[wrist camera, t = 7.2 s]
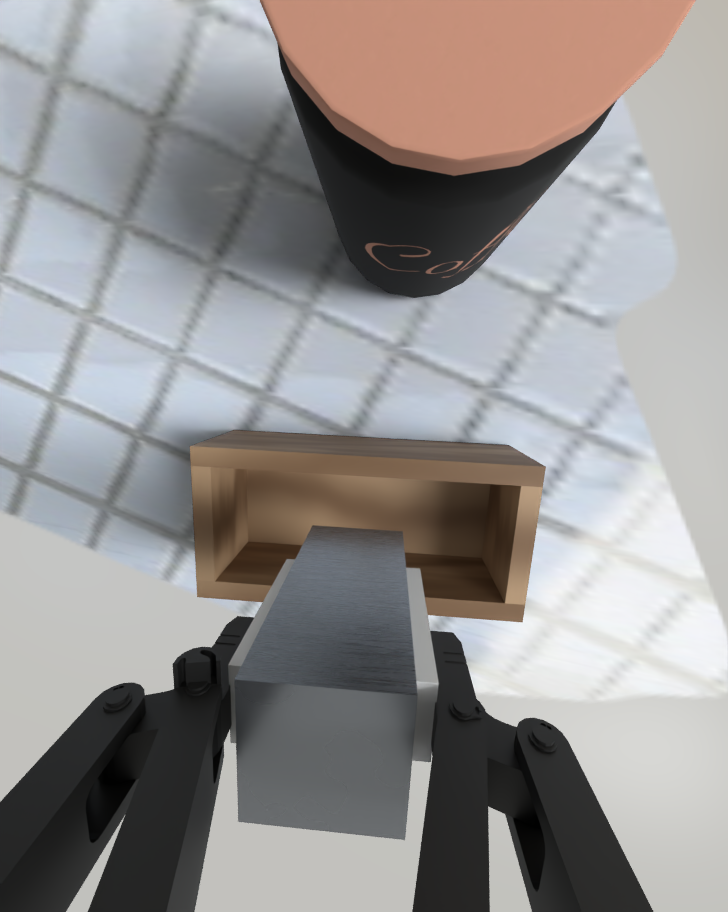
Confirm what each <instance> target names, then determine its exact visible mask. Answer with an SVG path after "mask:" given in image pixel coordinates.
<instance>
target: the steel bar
mask: <svg viewBox="0 0 728 912" xmlns="http://www.w3.org/2000/svg"><path fill="white" fill-rule="evenodd" d="M417 699H418V693H417V682H416V671H415V660H414V649H413V638H412V627H411V616H410V605H409V594H408V583H407V572H406V561H405V550H404V539H403V531H390V530H375V529H361V528H346V527H331V526H317V525H312V527H311V529H310V531H309V533H308V535H307V537H306V539H305V541H304V543H303V545H302V547H301V549H300V551H299V553H298V555H297V557H296V559H295V561H294V563H293V565H292V567H291V569H290V571H289V573H288V575H287V577H286V579H285V581H284V583H283V585H282V587H281V589H280V591H279V593H278V595H277V597H276V599H275V600H274V602H273V604H272V606H271V608H270V610H269V612H268V614H267V616H266V618H265V620H264V622H263V624H262V626H261V628H260V630H259V632H258V634H257V636H256V638H255V640H254V642H253V644H252V646H251V648H250V650H249V652H248V654H247V656H246V658H245V660H244V662H243V664H242V666H241V668H240V670H239V672H238V674H237V676H236V678H235V714H236V750H237V787H238V821H239V822H247V823H256V824H264V825H274V826H283V827H292V828H302V829H310V830H320V831H329V832H338V833H347V834H356V835H365V836H375V837H384V838H393V839H402V840H405V833H406V822H407V811H408V800H409V788H410V777H411V765H412V755H413V744H414V732H415V721H416V710H417Z"/></svg>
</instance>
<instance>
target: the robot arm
mask: <svg viewBox="0 0 728 912" xmlns="http://www.w3.org/2000/svg"><path fill="white" fill-rule="evenodd" d="M294 561H295V559H286V561H285V563H284V565H283V567H282V568H281V570H280V572H279V574H278V576H277V577H276V579H275V581H274V583H273V585H272V587H271V588H270V590H269V592H268V594H267V596H266V597H265V599H264V601H263V603H262V605H261V606H260V608H259V610H258V612H257V614H256V616H255V617H254V618H253V617H241V616H237V617H236V618H235V619H233V620H232V621H231V622H229V623H228V624H227V625H226V627H225V628H224V630H223V631H222V633H221V635H220V636H219V637H218V639H217V640H216V642H215V644H214V645H213V647H212V648H210V647H199V648H194V649H192V650H189V651H187V652H185V653H183V654H182V655H181V656H179V657H178V658H177V659H176V660H175V662H174V663H173V676H174V689H173V690H170V691H166V692H161V693H156V694H150V695H145V694H144V689H143V687H142V686H141V685H139V684H136V683H123V684H119V685H116V686H113V687H111V688H109V689H108V690H106V691H104V692H103V693H101V694H100V695H99V696H98V697H97V698H95V700H94V701H93V702H92V703H91V704H90V705H89V706H88V707H87V708H86V709H85V710H84V712H83V713H82V714H81V715H80V716H79V717H78V718H77V719H76V720H75V721H74V722H73V723H72V725H71V726H70V727H69V728H68V729H67V730H66V731H65V732H64V733H63V734H62V736H61V737H60V738H59V739H58V740H57V741H56V742H55V743H54V744H53V745H52V746H51V747H50V748H49V750H48V751H47V752H46V753H45V754H44V755H43V756H42V757H41V758H40V759H39V760H38V762H37V763H36V764H35V765H34V766H33V767H32V768H31V769H30V770H29V771H28V773H26V775H25V776H24V777H23V778H22V779H21V780H20V781H19V782H18V783H17V784H16V785H15V787H14V788H13V789H12V790H11V791H10V792H9V793H8V794H7V795H6V796H5V797H4V799H3V800H2V801H1V802H0V912H66V911H67V909H68V907H69V906H70V904H71V902H72V901H73V899H74V897H75V896H76V894H77V893H78V891H79V889H80V888H81V886H82V884H83V883H84V881H85V879H86V878H87V876H88V874H89V873H90V871H91V870H92V868H93V866H94V864H95V863H96V861H97V860H98V858H99V856H100V855H101V853H102V852H103V850H104V848H105V847H106V845H107V843H108V842H109V840H110V838H111V836H112V835H113V833H114V832H115V830H116V828H117V827H118V825H119V824H120V822H121V820H122V819H123V817H124V815H125V814H126V815H125V817H124V820H123V822H122V825H121V828H120V830H119V833H118V836H117V838H116V841H115V843H114V846H113V849H112V851H111V854H110V856H109V859H108V861H107V864H106V867H105V869H104V872H103V874H102V877H101V879H100V882H99V885H98V887H97V890H96V892H95V895H94V897H93V900H92V902H91V905H90V908H89V910H88V912H194V910H195V905H196V900H197V895H198V890H199V884H200V879H201V873H202V869H203V863H204V858H205V853H206V848H207V842H208V837H209V832H210V826H211V821H212V816H213V811H214V806H215V800H216V795H217V790H218V785H219V779H220V774H221V769H222V764H223V758H224V741H225V739H226V737H227V734H228V732H229V730H230V737H231V743H236V714H235V678H236V676H237V674H238V672H239V670H240V668H241V666H242V664H243V662H244V660H245V658H246V656H247V654H248V652H249V650H250V648H251V646H252V644H253V642H254V640H255V638H256V636H257V634H258V632H259V630H260V628H261V626H262V624H263V622H264V620H265V618H266V616H267V614H268V612H269V610H270V608H271V606H272V604H273V602H274V600H275V599H276V597H277V595H278V593H279V591H280V589H281V587H282V585H283V583H284V581H285V579H286V577H287V575H288V573H289V571H290V569H291V567H292V565H293V563H294ZM406 572H407V583H408V594H409V605H410V616H411V627H412V638H413V649H414V660H415V671H416V682H417V693H418V699H417V710H416V721H415V732H414V744H413V755H412V760H415V761H424V762H431V754H432V756H433V757H432V765H431V773H430V781H429V788H428V797H427V804H426V811H425V819H424V827H423V834H422V842H421V851H420V858H419V866H418V873H417V881H416V889H415V897H414V904H413V912H490V905H489V841H488V840H489V839H488V806H489V807H491V808H493V809H495V810H498V811H500V812H502V813H504V814H505V815H506V818H507V822H508V826H509V829H510V832H511V836H512V840H513V843H514V847H515V851H516V855H517V858H518V862H519V866H520V869H521V873H522V876H523V880H524V884H525V887H526V891H527V895H528V898H529V902H530V905H531V909H532V912H653V910H652V908H651V906H650V904H649V902H648V900H647V898H646V896H645V894H644V892H643V890H642V888H641V886H640V884H639V882H638V880H637V878H636V876H635V874H634V872H633V870H632V868H631V866H630V864H629V862H628V860H627V858H626V856H625V854H624V852H623V850H622V848H621V846H620V844H619V842H618V840H617V838H616V836H615V834H614V832H613V830H612V828H611V826H610V824H609V822H608V820H607V818H606V816H605V814H604V812H603V810H602V809H601V806H600V805H599V802H598V801H597V798H596V796H595V794H594V792H593V790H592V788H591V786H590V785H589V782H588V781H587V778H586V776H585V774H584V772H583V770H582V769H581V766H580V764H579V762H578V760H577V759H576V756H575V754H574V752H573V750H572V748H571V746H570V744H569V742H568V741H567V739H566V738H565V736H564V735H563V734H562V732H560V731H559V730H558V729H557V728H556V727H554V726H553V725H551V724H550V723H548V722H546V721H544V720H540V719H537V718H526V719H524V720H522V721H520V722H519V724H518V726H517V727H514V726H511V725H509V724H506V723H503V722H501V721H499V720H497V719H494V718H493V717H492V716H490V715H489V714H487V713H486V712H485V709H484V707H483V706H482V705H481V703H480V702H479V701H478V700H477V699H476V696H475V692H474V688H473V685H472V681H471V677H470V674H469V670H468V666H467V664H466V659H465V656H464V651H463V648H462V644H461V642H460V641H459V639H458V638H457V637H456V636H455V635H454V633H451V632H438V631H430V627H429V621H428V615H427V608H426V602H425V596H424V590H423V584H422V577H421V571H420V569H419V568H406Z"/></svg>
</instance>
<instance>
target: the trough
mask: <svg viewBox="0 0 728 912" xmlns="http://www.w3.org/2000/svg"><path fill="white" fill-rule="evenodd" d="M190 460H191V480H192V500H193V520H194V540H195V560H196V581H197V597H204V598H217V599H229V600H242V601H255V602H263V601H264V599H265V597H266V596H267V594H268V592H269V590H270V588H271V587H272V585H273V583H274V581H275V579H276V577H277V576H278V574H279V572H280V570H281V568H282V567H283V565H284V563H285V561H286V559H296V557H297V555H298V553H299V551H300V549H301V547H302V545H303V543H304V541H305V539H306V537H307V535H308V533H309V531H310V529H311V527H312V525H317V526H331V527H346V528H361V529H375V530H390V531H403V539H404V550H405V561H406V568H419V569H420V571H421V577H422V584H423V590H424V596H425V602H426V608H427V615H436V616H449V617H461V618H474V619H487V620H500V621H513V622H523V615H524V608H525V602H526V595H527V588H528V582H529V575H530V568H531V562H532V555H533V548H534V541H535V535H536V528H537V521H538V515H539V508H540V501H541V495H542V488H543V481H544V475H545V468H546V467H545V466H543V465H542V464H540V463H538V462H537V461H535V460H533V459H531V458H530V457H528V456H526V455H525V454H523V453H521V452H520V451H518V450H516V449H514V448H513V447H511V446H509V445H497V444H479V443H461V442H443V441H425V440H407V439H389V438H371V437H353V436H335V435H317V434H299V433H281V432H263V431H245V430H233V431H230V432H227V433H225V434H222V435H219V436H217V437H214V438H211V439H208V440H206V441H203V442H200V443H197V444H195V445H192V446H190Z"/></svg>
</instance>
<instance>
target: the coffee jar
mask: <svg viewBox="0 0 728 912" xmlns="http://www.w3.org/2000/svg"><path fill="white" fill-rule="evenodd" d="M695 1H696V0H260V2H261V5H262V7H263V9H264V12H265V14H266V16H267V19H268V21H269V24H270V26H271V28H272V31H273V33H274V35H275V38H276V40H277V43H278V50H279V58H280V65H281V70H282V73H283V76H284V78H285V81H286V84H287V87H288V90H289V93H290V96H291V99H292V101H293V104H294V107H295V110H296V113H297V116H298V119H299V122H300V124H301V127H302V130H303V133H304V136H305V139H306V142H307V145H308V147H309V150H310V153H311V156H312V159H313V162H314V165H315V168H316V170H317V173H318V176H319V179H320V182H321V185H322V188H323V190H324V193H325V196H326V199H327V202H328V205H329V208H330V211H331V213H332V216H333V219H334V222H335V225H336V228H337V231H338V234H339V236H340V238H341V241H342V243H343V245H344V248H345V250H346V252H347V255H348V257H349V259H350V261H351V262H352V263H353V264H354V265H355V267H356V268H357V269H358V270H359V271H360V272H361V273H362V275H363V276H364V277H365V278H366V279H367V280H368V281H370V282H372V283H373V284H375V285H377V286H378V287H380V288H382V289H383V290H385V291H387V292H388V293H393V294H398V295H403V296H407V297H412V298H416V297H423V296H430V295H438V294H441V293H443V292H445V291H447V290H449V289H451V288H453V287H455V286H457V285H459V284H461V283H463V282H464V281H465V280H466V279H467V278H468V277H470V276H471V275H472V274H473V273H474V272H475V271H476V270H477V269H478V268H479V267H480V266H481V265H482V264H483V263H484V262H485V261H486V260H487V259H488V257H489V256H490V255H491V254H492V253H493V252H494V251H495V249H496V248H497V247H498V246H499V245H500V244H501V242H502V241H503V240H504V239H505V238H506V237H507V236H508V234H509V233H510V232H511V231H512V230H513V229H514V227H515V226H516V225H517V224H518V223H519V222H520V220H521V219H522V218H523V217H524V216H525V215H526V214H527V212H528V211H529V210H530V209H531V208H532V207H533V205H534V204H535V203H536V202H537V201H538V200H539V199H540V197H541V196H542V195H543V194H544V193H545V192H546V190H547V189H548V188H549V187H550V186H551V185H552V183H553V182H554V181H555V180H556V179H557V178H558V177H559V175H560V174H561V173H562V172H563V171H564V170H565V168H566V167H567V166H568V165H569V164H570V163H571V161H572V160H573V159H574V158H575V157H576V156H577V155H578V153H579V152H580V151H581V150H582V149H583V148H584V146H585V145H586V144H587V143H588V142H589V141H590V140H591V138H592V137H593V136H594V135H595V134H596V133H597V131H598V130H599V129H600V127H601V126H602V124H603V122H604V121H605V119H606V117H607V116H608V114H609V112H610V111H611V109H612V107H613V106H614V104H615V102H616V101H617V99H618V98H619V97H620V96H621V95H622V94H623V93H624V92H625V91H627V90H628V89H629V88H630V87H631V85H633V84H634V83H635V82H636V81H637V80H638V79H639V78H640V77H641V76H642V75H643V74H644V73H645V72H646V71H647V70H648V69H649V68H650V67H651V66H652V65H653V64H654V63H655V62H656V61H657V60H658V59H659V58H660V57H661V56H662V55H663V53H664V51H665V50H666V48H667V46H668V45H669V43H670V42H671V40H672V38H673V36H674V35H675V33H676V32H677V30H678V28H679V27H680V25H681V24H682V22H683V20H684V19H685V17H686V15H687V14H688V12H689V10H690V9H691V7H692V5H693V4H694V2H695Z"/></svg>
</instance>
